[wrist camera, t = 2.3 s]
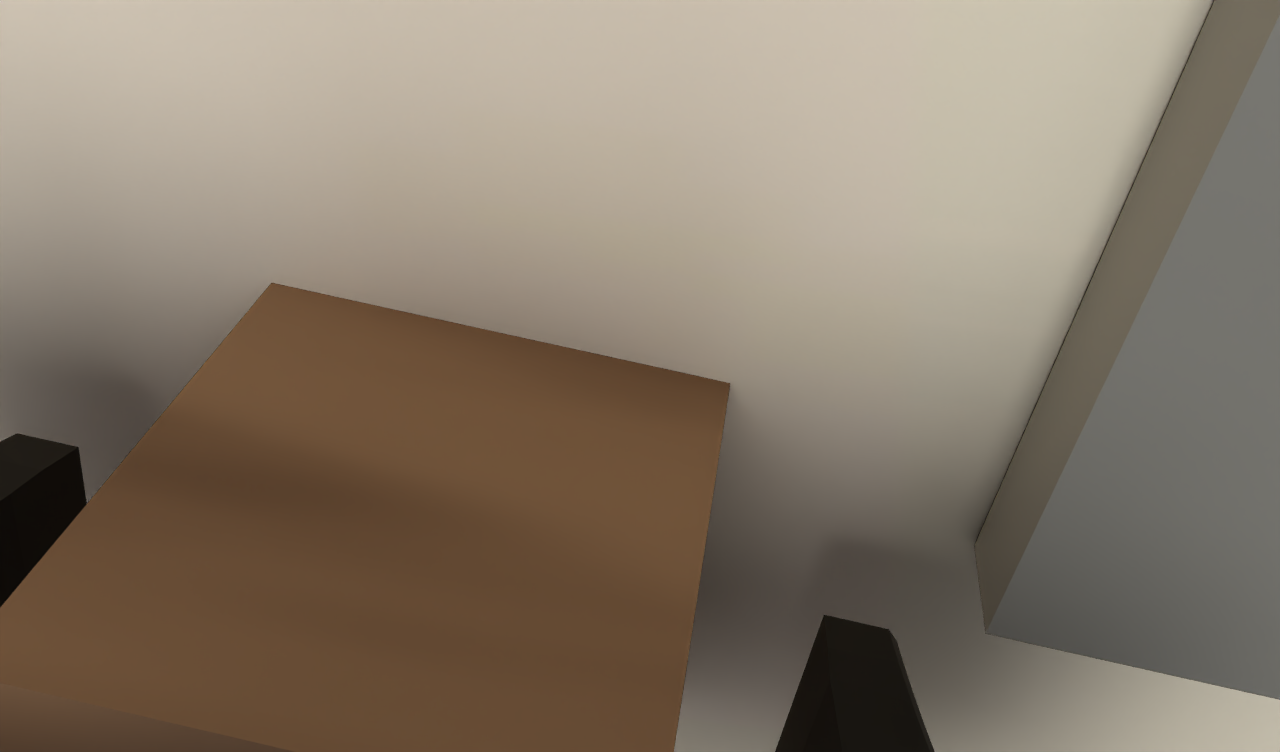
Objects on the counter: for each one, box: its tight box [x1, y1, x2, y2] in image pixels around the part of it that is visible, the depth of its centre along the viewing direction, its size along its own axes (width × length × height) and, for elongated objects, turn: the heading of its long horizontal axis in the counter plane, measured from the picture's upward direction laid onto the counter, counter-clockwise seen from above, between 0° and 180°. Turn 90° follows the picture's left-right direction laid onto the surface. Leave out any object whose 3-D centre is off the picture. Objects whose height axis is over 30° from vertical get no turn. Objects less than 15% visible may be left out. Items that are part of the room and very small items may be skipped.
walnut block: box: [0, 283, 730, 752], centre depth 11 cm, size 4×4×5 cm
